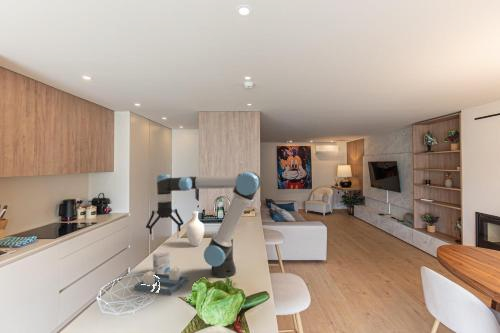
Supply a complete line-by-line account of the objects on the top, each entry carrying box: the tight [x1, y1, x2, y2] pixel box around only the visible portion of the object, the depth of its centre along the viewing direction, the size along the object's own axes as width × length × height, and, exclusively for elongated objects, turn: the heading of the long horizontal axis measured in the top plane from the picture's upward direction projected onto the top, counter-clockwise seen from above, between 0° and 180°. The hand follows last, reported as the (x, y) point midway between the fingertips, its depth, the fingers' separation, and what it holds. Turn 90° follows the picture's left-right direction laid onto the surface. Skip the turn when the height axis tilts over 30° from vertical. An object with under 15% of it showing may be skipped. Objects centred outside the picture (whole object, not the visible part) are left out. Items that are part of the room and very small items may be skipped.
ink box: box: [152, 250, 171, 274], centre depth 150 cm, size 9×5×12 cm, turn 141°
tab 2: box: [168, 266, 180, 281], centre depth 135 cm, size 4×4×7 cm
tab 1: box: [142, 270, 155, 285], centre depth 130 cm, size 4×4×7 cm
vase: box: [185, 210, 205, 247], centre depth 202 cm, size 14×14×28 cm
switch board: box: [133, 272, 189, 296], centre depth 133 cm, size 22×16×3 cm
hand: (165, 238), depth 141 cm, fingers open, 13 cm apart
